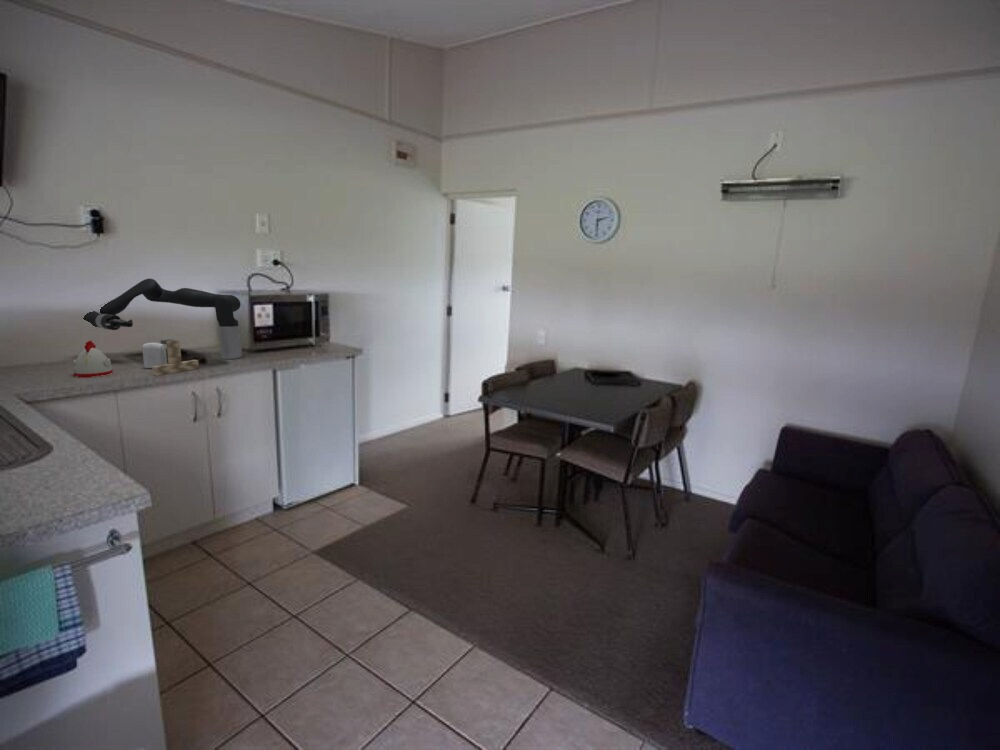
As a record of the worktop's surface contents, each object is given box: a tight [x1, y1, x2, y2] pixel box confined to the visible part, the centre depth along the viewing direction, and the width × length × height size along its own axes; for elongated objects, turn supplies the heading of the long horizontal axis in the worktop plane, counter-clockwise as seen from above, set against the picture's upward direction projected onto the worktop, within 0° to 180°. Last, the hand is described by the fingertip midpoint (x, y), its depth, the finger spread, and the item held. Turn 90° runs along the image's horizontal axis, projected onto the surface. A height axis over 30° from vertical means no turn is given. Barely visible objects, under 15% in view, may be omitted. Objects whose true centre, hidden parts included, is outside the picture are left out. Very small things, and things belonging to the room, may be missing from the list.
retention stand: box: [151, 338, 200, 377], centre depth 244 cm, size 20×7×14 cm, turn 155°
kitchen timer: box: [73, 340, 114, 378], centre depth 233 cm, size 14×14×15 cm
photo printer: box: [141, 342, 168, 369], centre depth 249 cm, size 10×4×12 cm, turn 84°
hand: (130, 324), depth 253 cm, fingers closed
